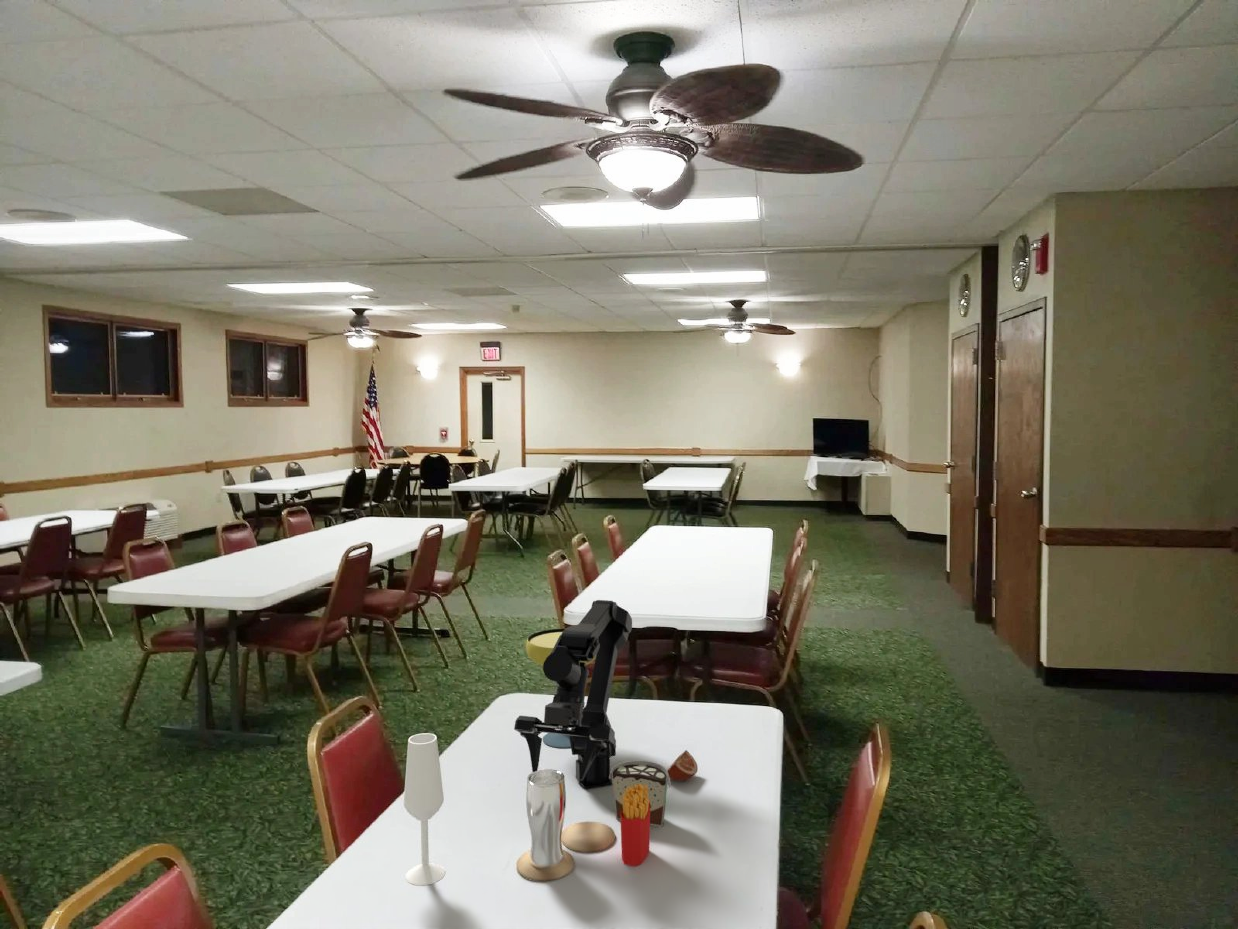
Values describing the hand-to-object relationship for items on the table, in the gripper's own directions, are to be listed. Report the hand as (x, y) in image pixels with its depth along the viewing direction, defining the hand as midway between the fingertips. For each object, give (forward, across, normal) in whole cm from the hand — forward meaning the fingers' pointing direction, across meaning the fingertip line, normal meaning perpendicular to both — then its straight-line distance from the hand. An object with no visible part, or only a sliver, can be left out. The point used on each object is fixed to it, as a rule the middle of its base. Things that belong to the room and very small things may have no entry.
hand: (557, 777), depth 156 cm
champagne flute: (+19, -18, -10) cm, 28 cm away
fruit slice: (-5, +20, +29) cm, 36 cm away
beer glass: (+14, +1, -4) cm, 15 cm away
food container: (+4, +15, +14) cm, 21 cm away
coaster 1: (+15, +1, -4) cm, 16 cm away
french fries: (+12, +16, +2) cm, 20 cm away
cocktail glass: (-12, -11, +43) cm, 46 cm away
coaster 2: (+10, +6, +5) cm, 12 cm away
